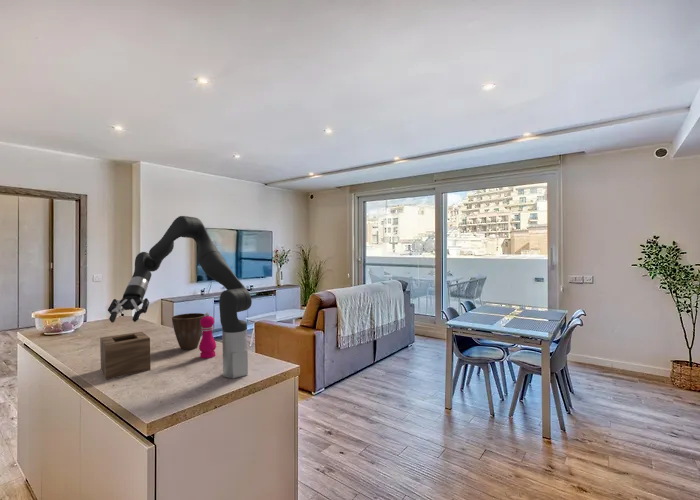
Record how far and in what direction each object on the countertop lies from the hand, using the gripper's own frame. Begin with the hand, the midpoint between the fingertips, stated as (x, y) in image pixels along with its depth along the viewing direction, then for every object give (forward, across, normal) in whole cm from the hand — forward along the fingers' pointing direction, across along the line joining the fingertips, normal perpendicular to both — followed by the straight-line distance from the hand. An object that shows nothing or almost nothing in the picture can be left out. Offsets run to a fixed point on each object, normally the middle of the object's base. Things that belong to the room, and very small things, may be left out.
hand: (122, 321), depth 141 cm
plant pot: (-6, +16, +35) cm, 39 cm away
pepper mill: (+4, +29, +24) cm, 38 cm away
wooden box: (+13, 0, +15) cm, 20 cm away
